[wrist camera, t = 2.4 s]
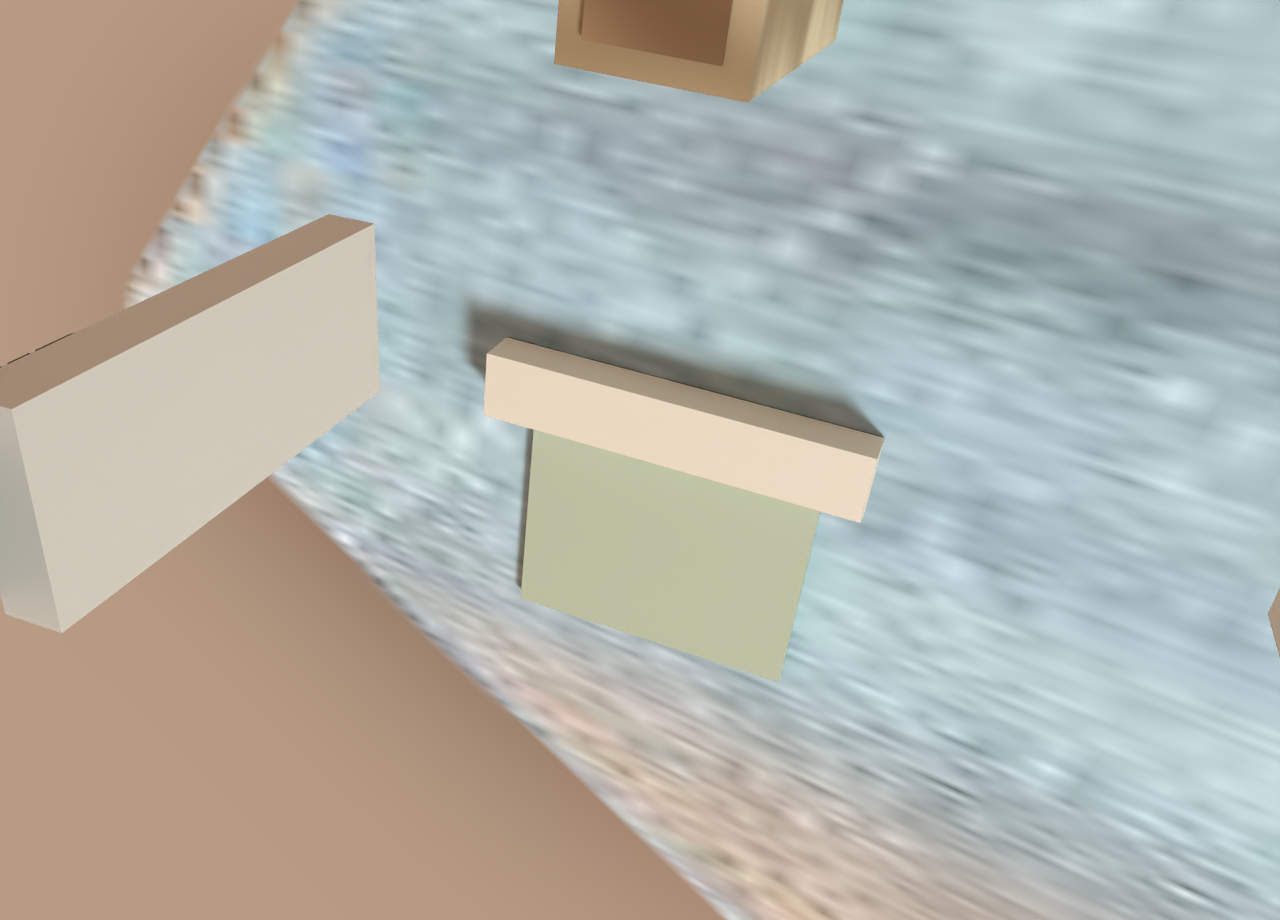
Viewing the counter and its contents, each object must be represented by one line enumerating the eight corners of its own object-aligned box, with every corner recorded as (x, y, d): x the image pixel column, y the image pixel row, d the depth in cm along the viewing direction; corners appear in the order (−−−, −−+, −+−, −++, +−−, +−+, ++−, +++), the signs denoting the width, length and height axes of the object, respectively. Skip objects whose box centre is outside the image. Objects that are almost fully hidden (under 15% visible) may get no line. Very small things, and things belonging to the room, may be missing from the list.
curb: (506, 337, 40) (486, 353, 39) (885, 437, 37) (877, 459, 35) (503, 397, 41) (483, 415, 40) (868, 500, 38) (860, 522, 37)
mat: (537, 425, 41) (533, 429, 41) (821, 506, 39) (819, 511, 38) (524, 592, 45) (520, 598, 45) (780, 675, 43) (778, 682, 42)
